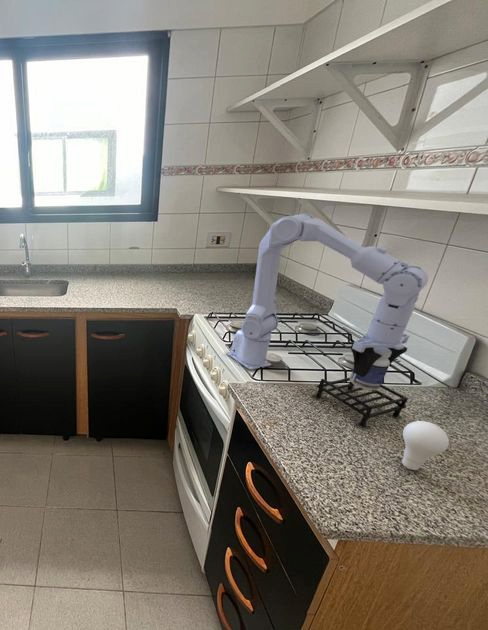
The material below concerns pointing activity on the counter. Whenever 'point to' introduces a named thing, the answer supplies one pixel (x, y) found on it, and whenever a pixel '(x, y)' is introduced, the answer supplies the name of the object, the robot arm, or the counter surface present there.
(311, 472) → the counter surface
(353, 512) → the counter surface
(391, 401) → the wire rack
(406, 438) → the lightbulb
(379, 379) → the pill bottle
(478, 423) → the counter surface
